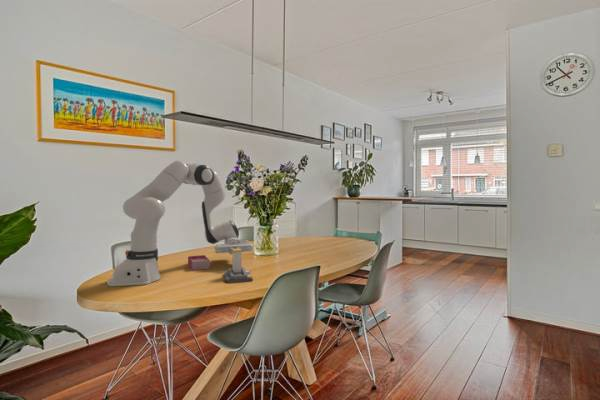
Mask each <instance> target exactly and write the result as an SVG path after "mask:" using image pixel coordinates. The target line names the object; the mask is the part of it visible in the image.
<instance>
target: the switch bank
mask: <svg viewBox="0 0 600 400" xmlns="http://www.w3.org/2000/svg"><path fill="white" fill-rule="evenodd" d="M223 273H224V278H225V283H241V282H242V283H243V282H252V281H253V277H252V275H251V274H252V273H251V272H250V270H249V269H245V267H241V272H239V273H233V267H232V268H228V270H223Z"/></svg>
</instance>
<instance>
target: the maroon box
mask: <svg viewBox="0 0 600 400" xmlns="http://www.w3.org/2000/svg"><path fill="white" fill-rule="evenodd" d="M187 266H189V268H190V269H191V271H197V270H198V271H200V270H208V269H209V268H210V269H211V260H210V259H209V258H208V257H207V256H206V255H205V254H204V255H202V254H201V255H189V256H187ZM199 269H200V270H199Z"/></svg>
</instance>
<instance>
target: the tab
mask: <svg viewBox="0 0 600 400" xmlns="http://www.w3.org/2000/svg"><path fill="white" fill-rule="evenodd" d="M231 255H232V260H231V261H232V268H233V273H239V272H241V268H242V252H241V249H232V254H231Z"/></svg>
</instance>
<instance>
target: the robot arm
mask: <svg viewBox="0 0 600 400" xmlns="http://www.w3.org/2000/svg"><path fill="white" fill-rule="evenodd" d="M183 184H186V185H191V186H201V188H202V191H203V193H204V198H203V199H204V200H203V201H202V202H201V212H202V218H203V226H204V236H205V240H206V241H207V243H209V244H211V245H215V244H216V245H215V246H214V250H215V254H226V253H227V254H230V255H232V249H241V253H245V252H253V251H254V246H253V243H251V242H250V241H249V240H248V239H241V238H239V235H240V234H239V230H238V229H239V228H238V227H237V225H236V224H235V222H234V221H232V220H231V219H230V220H227V221H224V222H221V223H218V224H215V225H212V220H211V213H212V211H214V209H216V208H218V206H219V205H221V204H222V203H223V202H224V200H225V197H226V192H225V188H224V185H223V182H222V180H221V178H220V175H219V174H218V173H217V171H216V170H213V169H212V168H210V166H208V165H206V164H197V163H185V162H184V161H181V160H174V161H173V162H171V163H169V165H167V166H166V167H165V168H163V170H162V171H160V173H159V174H158V175H157V176H155V178H154V179H153V180H152V181H151V182H150V183H149V184H148V185H146V186H144V187H143V188H142V189H141V190H139V191H138V192H136V194H134V195H132V196H131V197H129V198H128V199H126V200H125V201H124V202H123V205H122V210H123V213H124V214H125V215H126V216H127V217H129V218H131V219H132V220H135V223H134V227H133V230H132V231H131V233H130V249H128V250H126V251H124V254H125V260H123V261H122V262H120V264H118V265H117V266H116V267H115V268H114V269H113V273H112V276H111V277H110V278H109V279H107V282H106V284H107V286H108V287H122V286H123V287H126V286H139V285H140V286H142V285H148V284H150V283H154V282H158V281H159V280H160V279H161V274H160V269H159V265H158V264H159V263H158V260H159V251H158V250H159V249H158V247H157V246H158V241H157V238H158V236H157V235H158V229H159V225H160V221H161V218H162V217H163V216H164V215H165V212H166V207H165V205H164V203H163V202H165V201H167V200H168V199H170V198H171V197H172V196H173V195H174V193H176V191H177V190H178V189H179V188H180V187H181V185H183ZM221 241H223V244H221V243H220V244H217V243H219V242H221Z"/></svg>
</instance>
